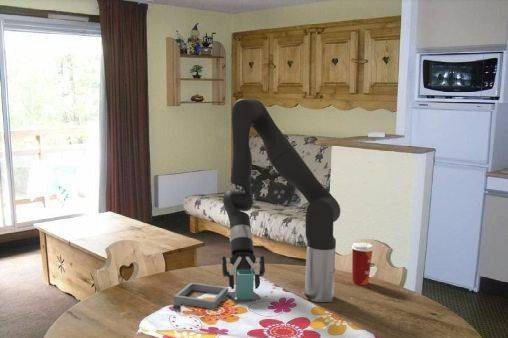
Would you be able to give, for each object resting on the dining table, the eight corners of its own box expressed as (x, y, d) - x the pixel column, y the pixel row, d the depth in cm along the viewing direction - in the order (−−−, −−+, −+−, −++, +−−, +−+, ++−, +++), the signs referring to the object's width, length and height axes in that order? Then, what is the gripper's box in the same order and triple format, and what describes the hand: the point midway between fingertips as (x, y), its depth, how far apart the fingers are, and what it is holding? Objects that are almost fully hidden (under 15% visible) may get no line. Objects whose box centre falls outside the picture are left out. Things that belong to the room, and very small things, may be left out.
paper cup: (373, 286, 178) (375, 248, 176) (351, 285, 178) (353, 247, 177) (368, 279, 186) (371, 242, 184) (347, 278, 186) (350, 241, 184)
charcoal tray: (227, 298, 163) (228, 287, 162) (213, 313, 150) (214, 302, 150) (190, 292, 166) (190, 282, 166) (173, 307, 154) (173, 296, 153)
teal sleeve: (250, 293, 163) (251, 269, 162) (252, 299, 159) (253, 274, 158) (235, 293, 163) (236, 269, 162) (237, 299, 158) (237, 274, 157)
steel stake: (256, 294, 166) (257, 275, 166) (262, 306, 157) (262, 286, 156) (226, 295, 165) (227, 276, 164) (229, 307, 155) (230, 287, 154)
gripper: (220, 236, 165) (223, 283, 155) (264, 235, 167) (269, 282, 157) (218, 247, 170) (221, 293, 160) (260, 247, 173) (265, 292, 163)
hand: (245, 287), depth 159 cm, fingers open, 7 cm apart
